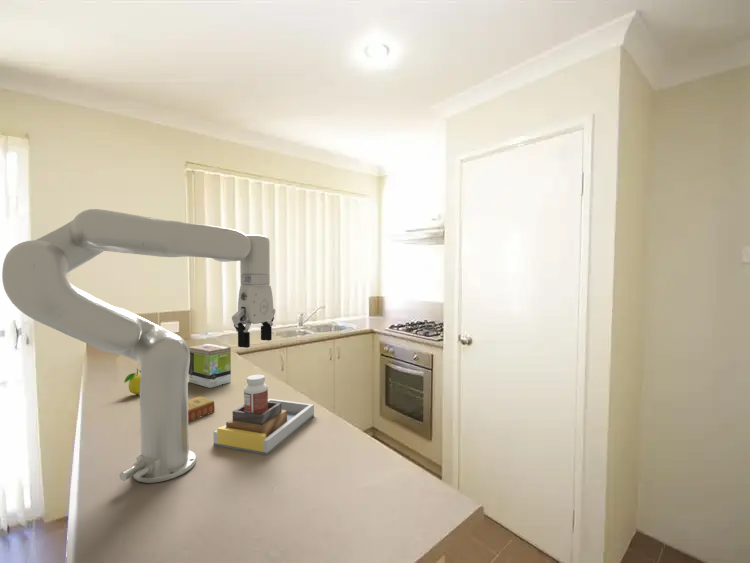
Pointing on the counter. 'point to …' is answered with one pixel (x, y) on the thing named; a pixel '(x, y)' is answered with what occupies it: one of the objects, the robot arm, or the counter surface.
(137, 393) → the lemon
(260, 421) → the box
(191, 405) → the carton
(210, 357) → the tea box
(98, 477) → the counter surface
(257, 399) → the pill bottle
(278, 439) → the bay
